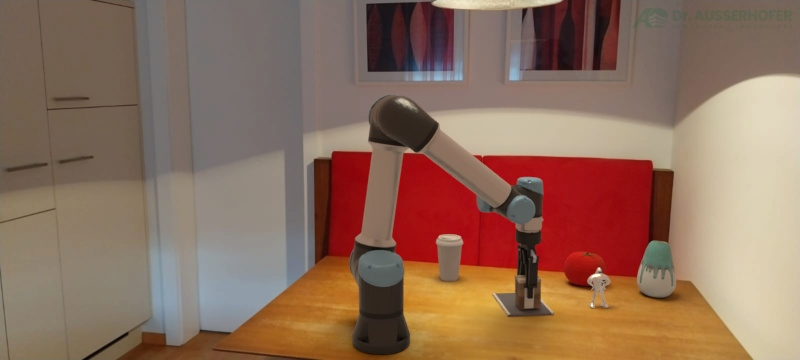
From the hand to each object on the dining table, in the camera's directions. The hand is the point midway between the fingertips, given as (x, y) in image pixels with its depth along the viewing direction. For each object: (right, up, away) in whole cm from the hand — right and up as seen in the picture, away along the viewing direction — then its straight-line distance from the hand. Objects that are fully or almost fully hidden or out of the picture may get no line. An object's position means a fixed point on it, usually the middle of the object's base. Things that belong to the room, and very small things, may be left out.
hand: (525, 304), depth 178 cm
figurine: (+23, -1, +3) cm, 23 cm away
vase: (+45, 0, +13) cm, 47 cm away
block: (+1, 0, 0) cm, 1 cm away
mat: (0, -1, +4) cm, 4 cm away
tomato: (+25, +2, +23) cm, 34 cm away
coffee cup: (-21, +3, +29) cm, 36 cm away
